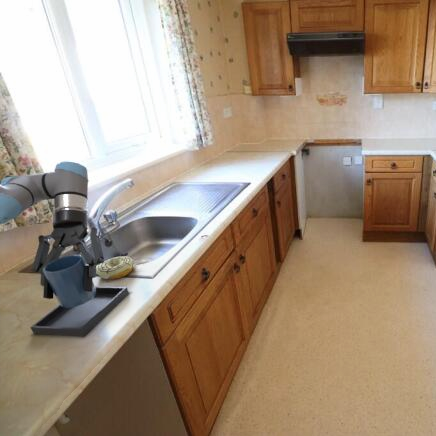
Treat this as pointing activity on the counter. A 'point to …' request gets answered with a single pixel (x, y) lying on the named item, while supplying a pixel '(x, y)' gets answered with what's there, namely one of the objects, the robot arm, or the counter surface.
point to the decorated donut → (115, 267)
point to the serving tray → (80, 314)
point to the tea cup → (68, 281)
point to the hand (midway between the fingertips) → (68, 294)
